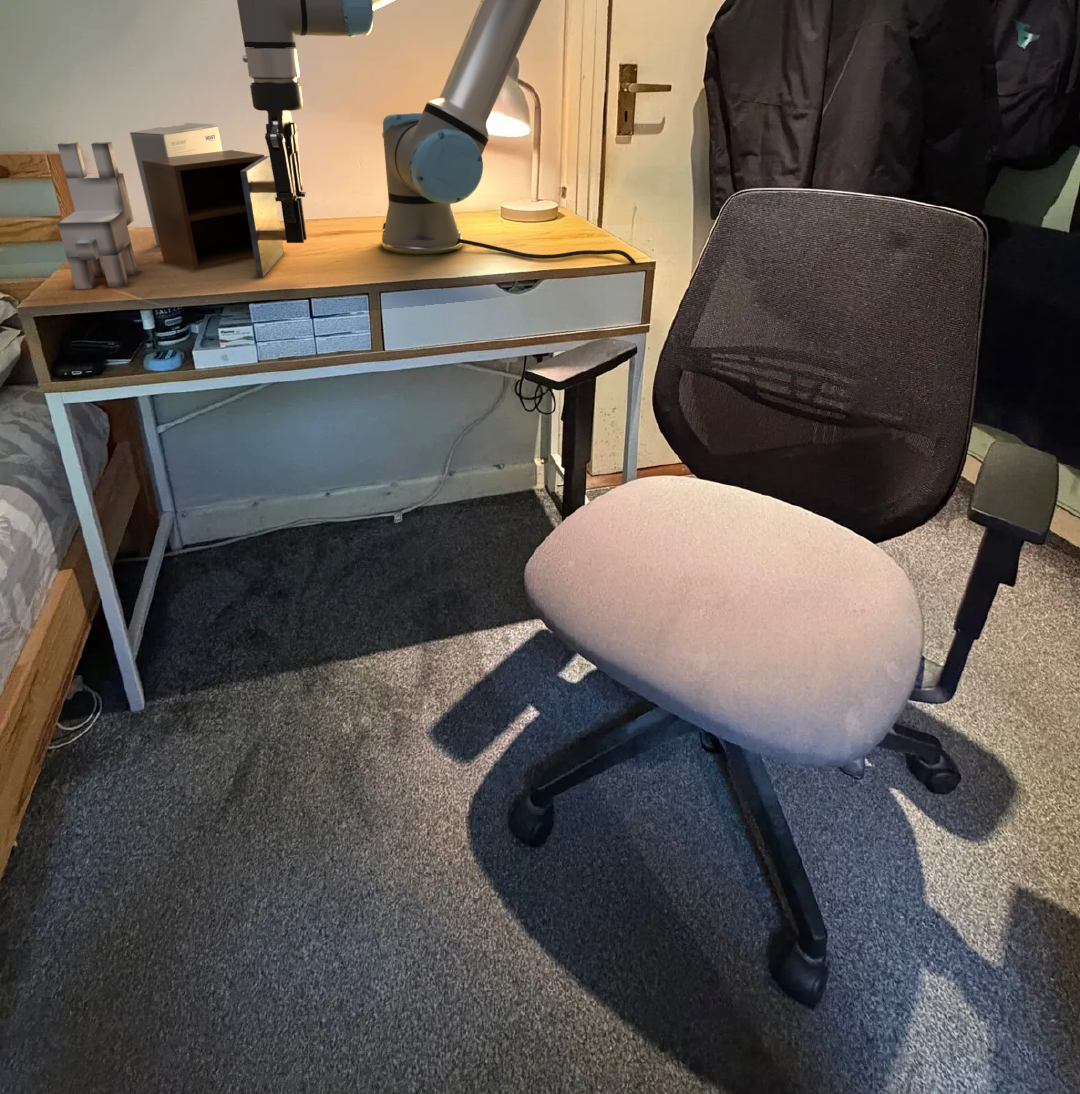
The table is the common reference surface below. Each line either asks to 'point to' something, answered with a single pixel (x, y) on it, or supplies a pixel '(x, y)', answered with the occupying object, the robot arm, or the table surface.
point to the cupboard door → (262, 214)
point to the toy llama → (97, 218)
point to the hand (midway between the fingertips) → (296, 240)
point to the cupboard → (200, 208)
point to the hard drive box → (172, 148)
